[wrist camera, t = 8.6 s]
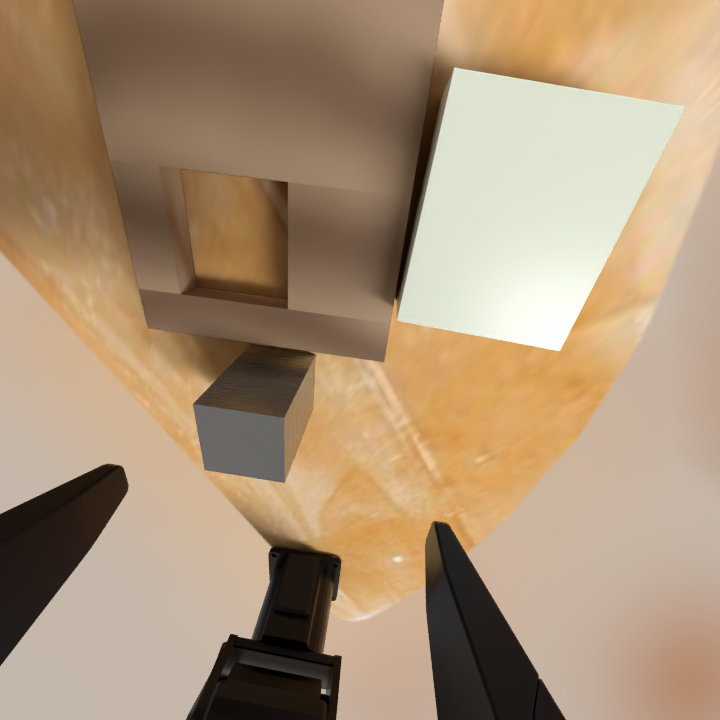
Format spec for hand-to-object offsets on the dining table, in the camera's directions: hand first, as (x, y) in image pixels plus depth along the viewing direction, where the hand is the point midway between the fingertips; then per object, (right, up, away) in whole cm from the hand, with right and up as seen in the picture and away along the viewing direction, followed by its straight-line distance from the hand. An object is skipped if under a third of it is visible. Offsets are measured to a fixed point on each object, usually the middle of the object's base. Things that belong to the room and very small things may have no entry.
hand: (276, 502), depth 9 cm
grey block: (-2, +3, +11) cm, 11 cm away
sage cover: (+9, +10, +6) cm, 15 cm away
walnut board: (-2, +12, +6) cm, 13 cm away
